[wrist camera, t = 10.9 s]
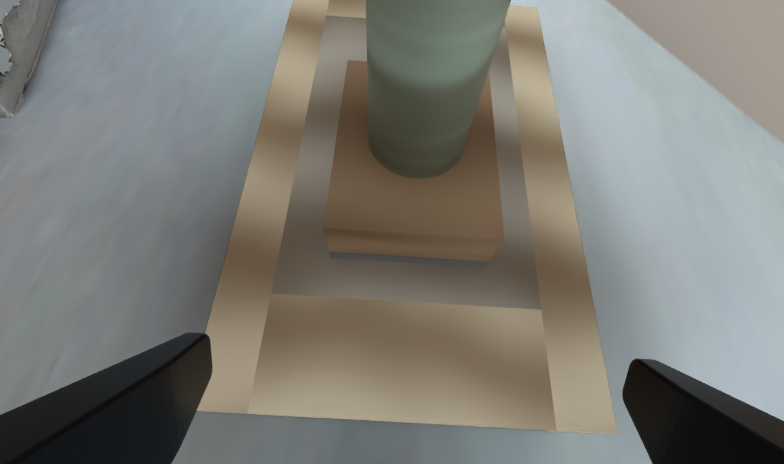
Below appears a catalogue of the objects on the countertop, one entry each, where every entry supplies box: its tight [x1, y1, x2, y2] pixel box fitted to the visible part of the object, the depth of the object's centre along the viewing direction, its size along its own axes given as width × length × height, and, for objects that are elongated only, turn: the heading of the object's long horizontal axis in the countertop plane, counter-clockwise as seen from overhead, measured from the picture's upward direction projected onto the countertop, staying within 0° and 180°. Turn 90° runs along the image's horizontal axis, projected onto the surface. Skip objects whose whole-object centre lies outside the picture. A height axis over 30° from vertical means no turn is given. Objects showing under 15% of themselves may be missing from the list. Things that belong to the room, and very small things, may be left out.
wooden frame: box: [197, 0, 618, 434], centre depth 18 cm, size 22×14×1 cm, turn 177°
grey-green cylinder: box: [323, 0, 511, 267], centre depth 12 cm, size 8×6×11 cm
